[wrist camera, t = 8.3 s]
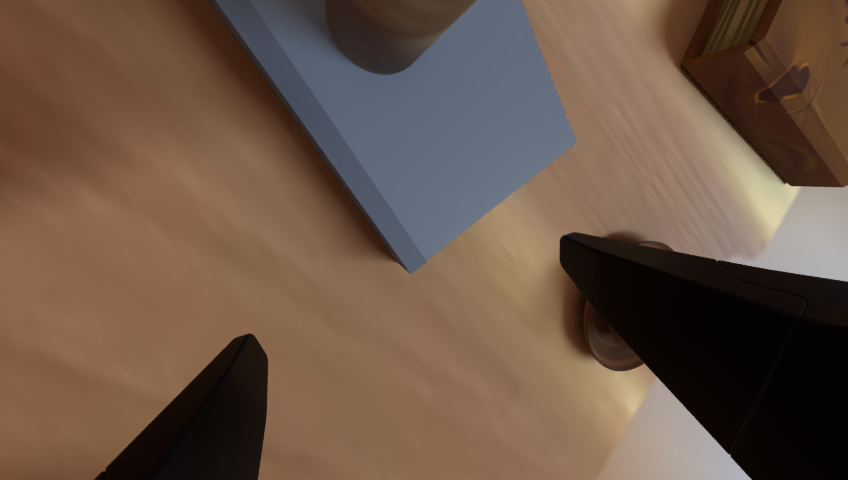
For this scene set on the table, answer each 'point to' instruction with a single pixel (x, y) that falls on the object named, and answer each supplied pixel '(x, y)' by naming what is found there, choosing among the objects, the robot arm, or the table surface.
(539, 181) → the table surface
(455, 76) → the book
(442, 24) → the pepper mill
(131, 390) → the table surface
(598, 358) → the cup and saucer
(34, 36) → the table surface
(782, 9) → the diary
